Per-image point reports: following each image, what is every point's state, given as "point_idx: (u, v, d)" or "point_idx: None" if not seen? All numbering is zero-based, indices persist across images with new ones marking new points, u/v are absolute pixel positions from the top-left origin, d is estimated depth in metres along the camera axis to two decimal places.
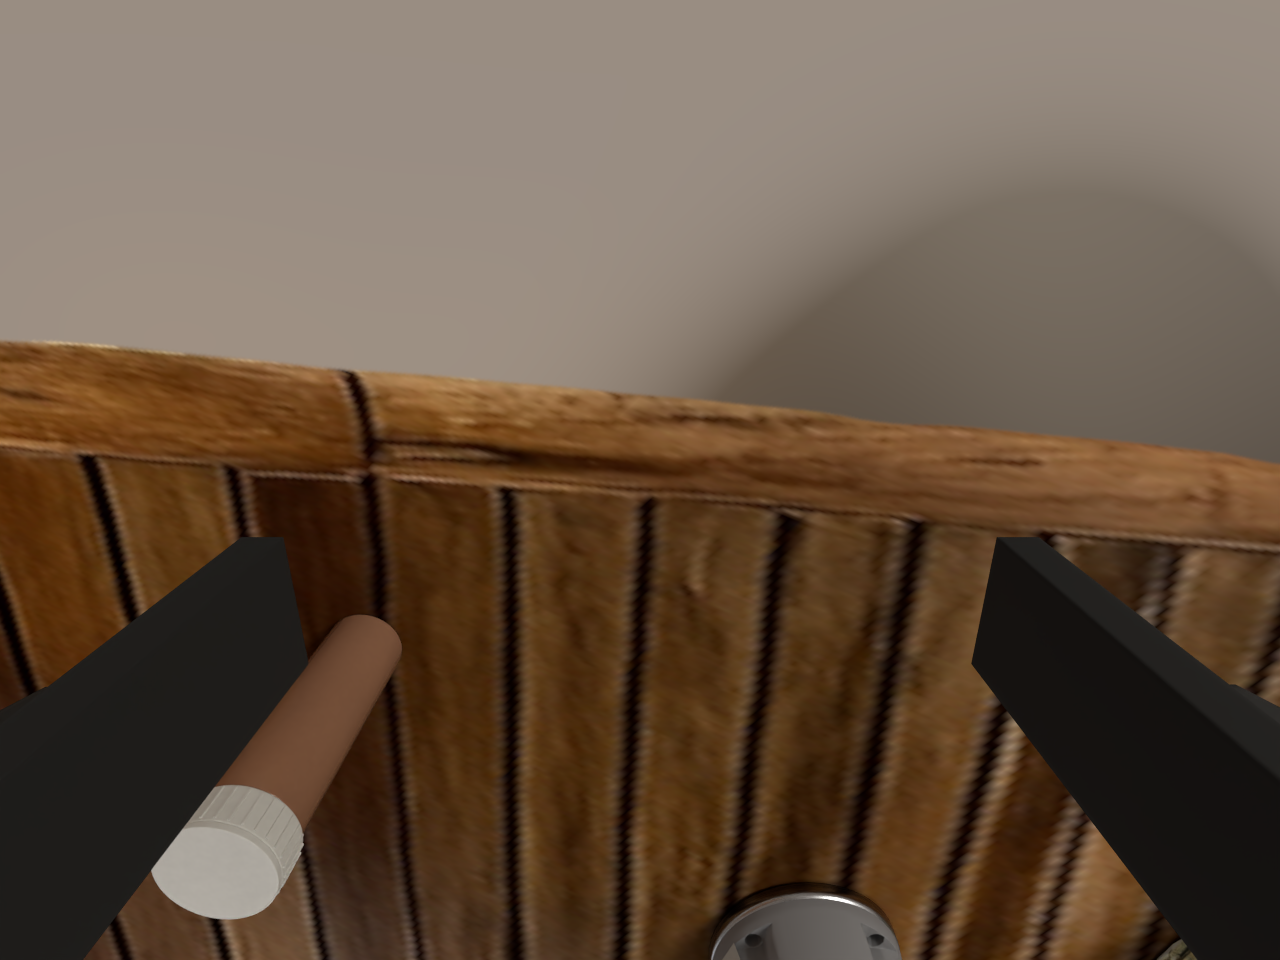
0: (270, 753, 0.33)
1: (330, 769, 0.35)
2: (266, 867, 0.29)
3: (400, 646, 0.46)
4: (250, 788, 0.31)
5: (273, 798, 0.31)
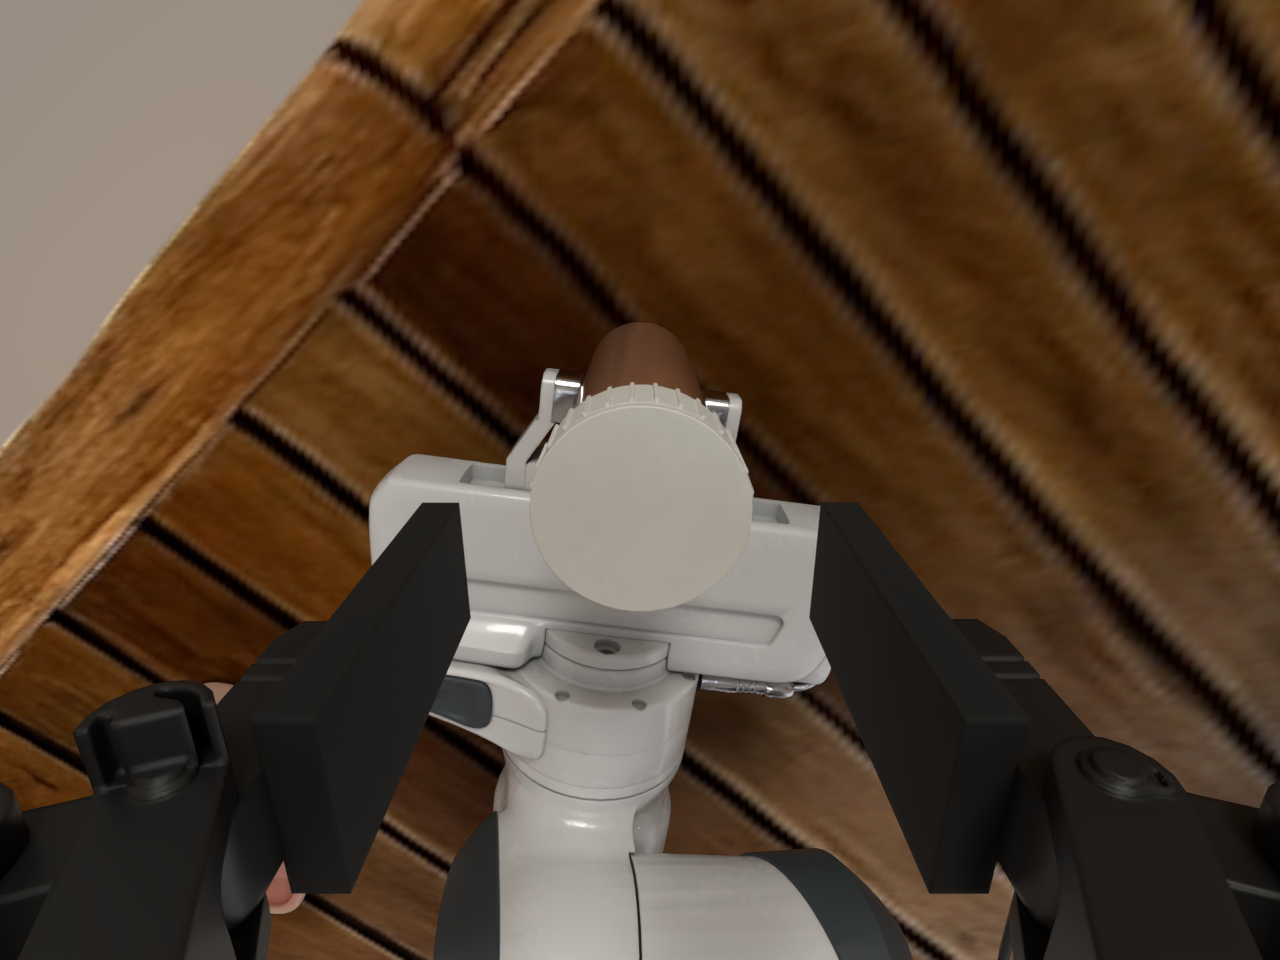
0: (592, 392, 0.20)
1: (689, 385, 0.22)
2: (694, 434, 0.16)
3: (673, 335, 0.32)
4: (589, 397, 0.18)
5: (629, 385, 0.18)
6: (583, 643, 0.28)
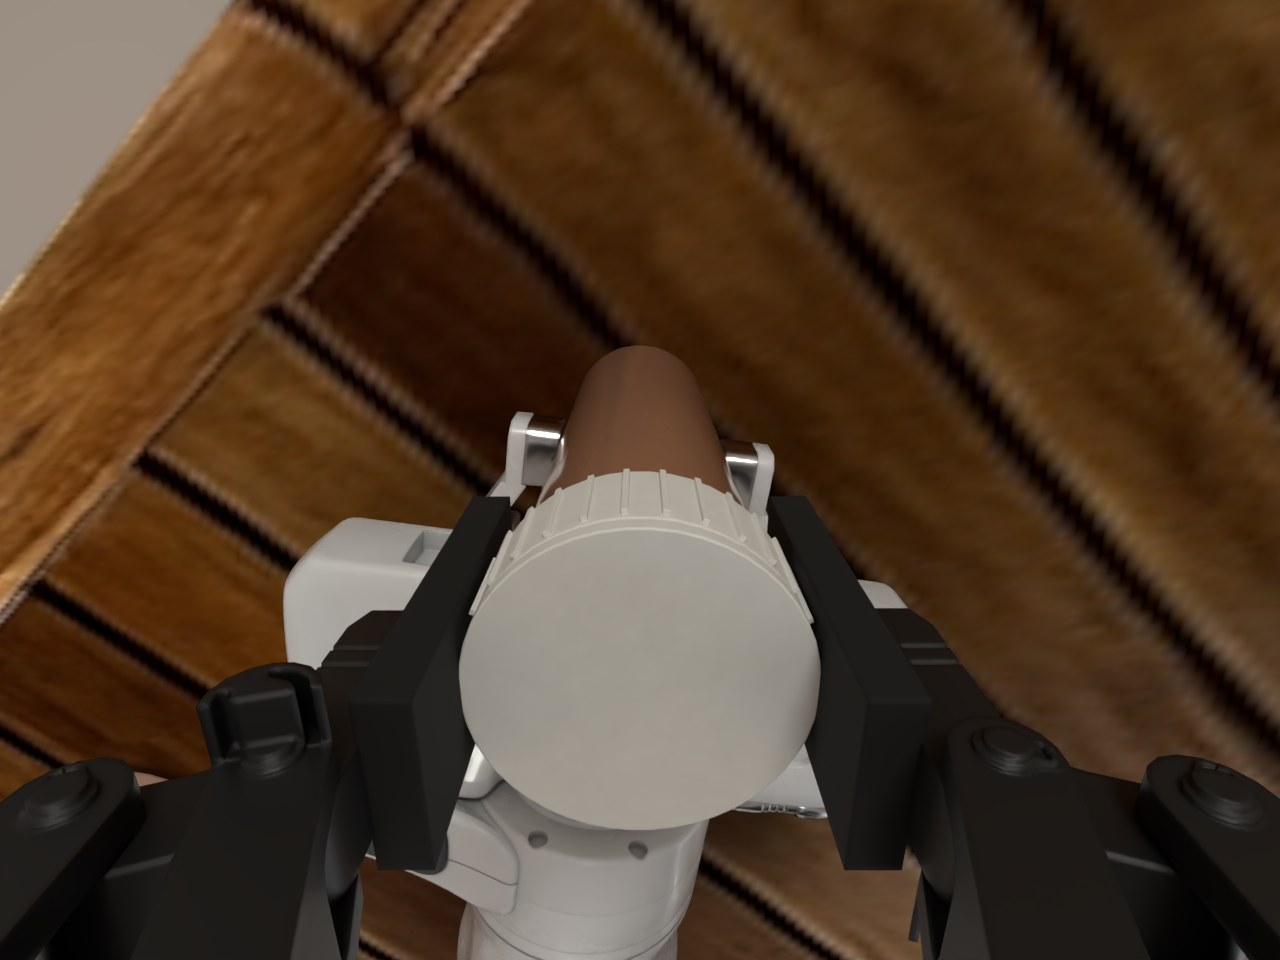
0: (569, 467, 0.14)
1: (709, 450, 0.15)
2: (728, 573, 0.09)
3: (681, 361, 0.26)
4: None
5: (622, 473, 0.11)
6: None
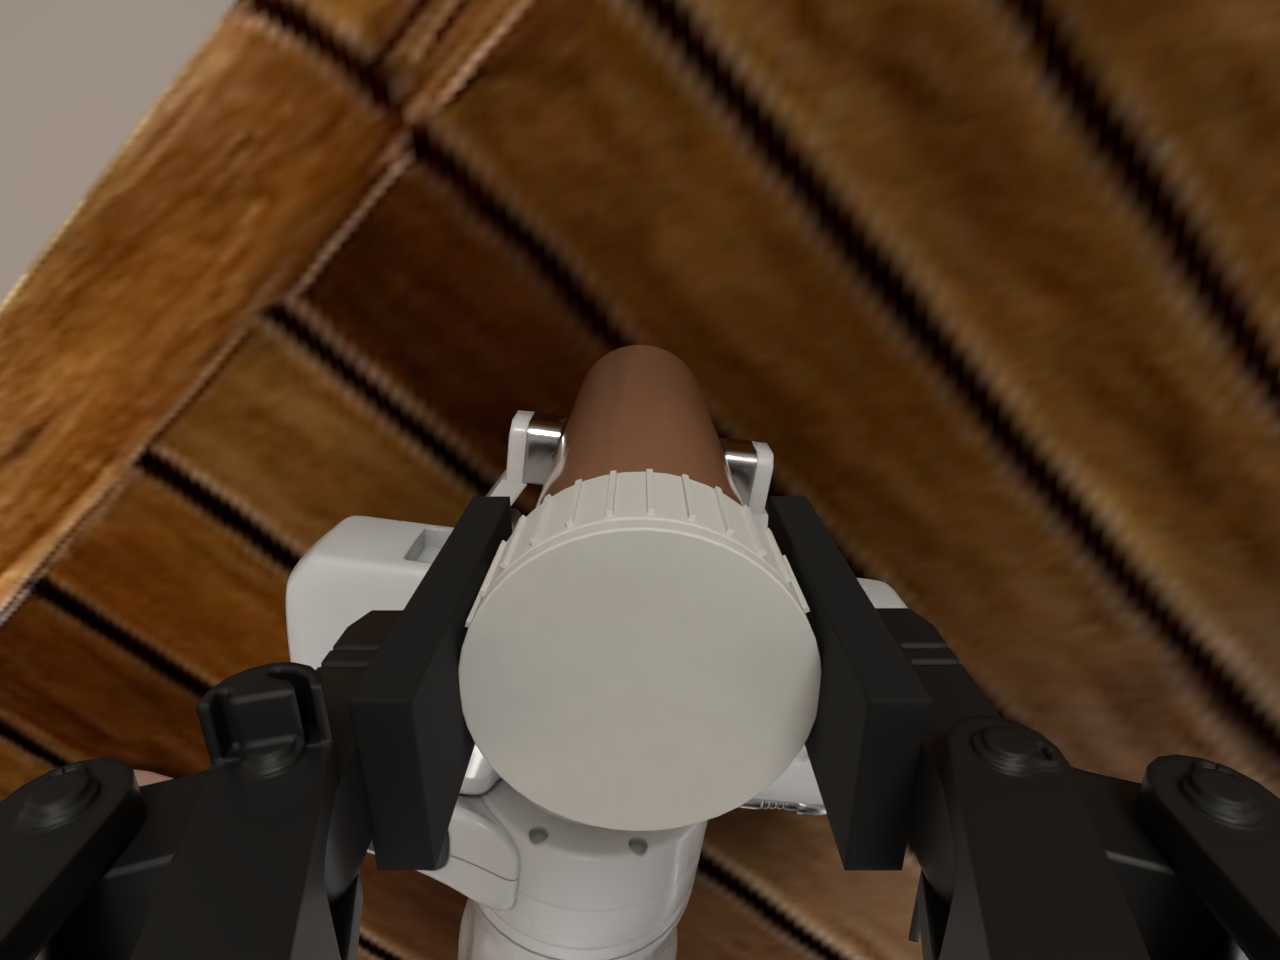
0: (570, 465, 0.14)
1: (708, 449, 0.15)
2: (496, 626, 0.10)
3: (681, 360, 0.26)
4: None
5: None
6: None
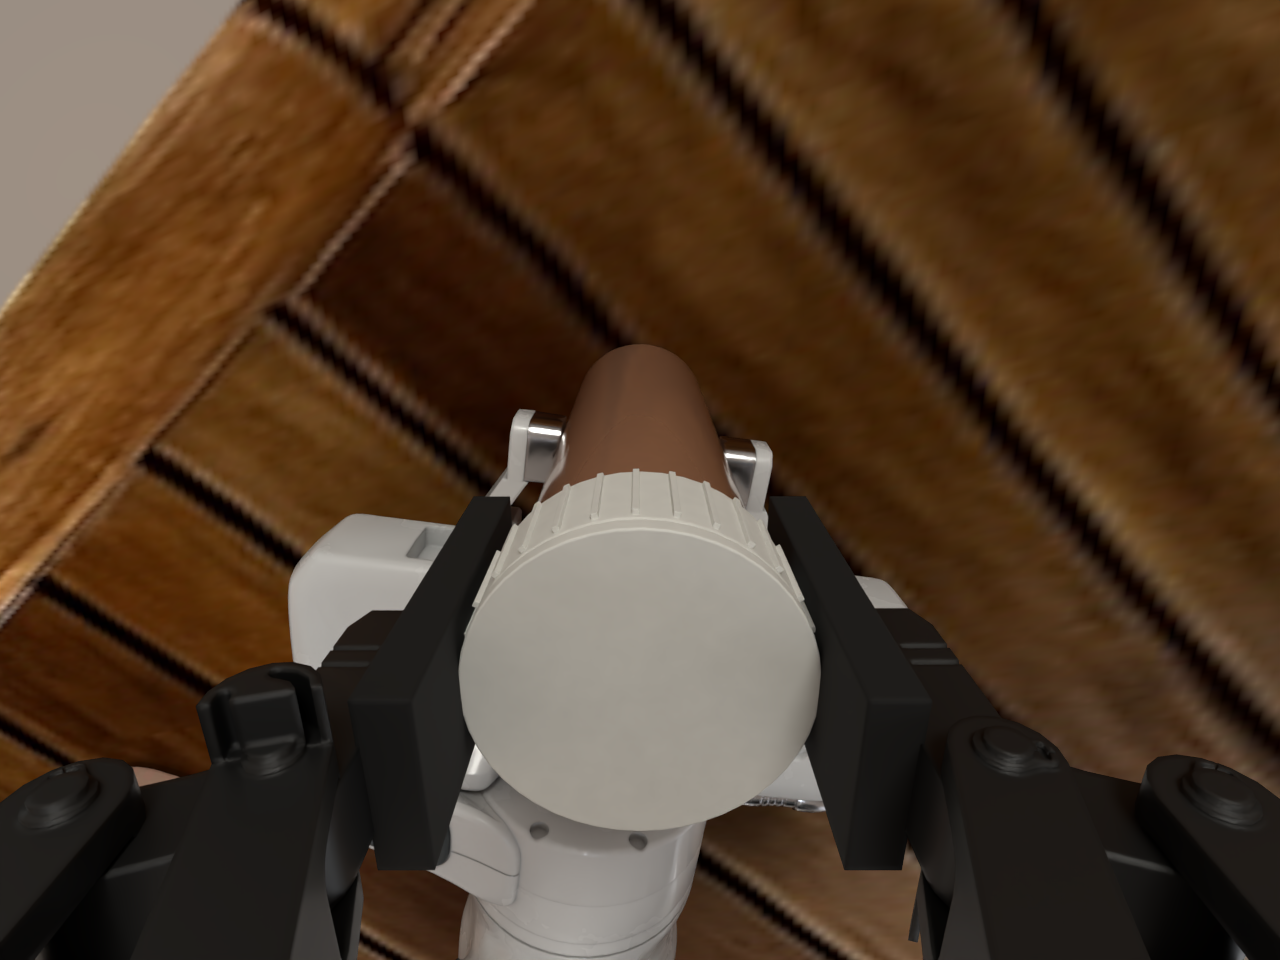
0: (571, 462, 0.14)
1: (708, 446, 0.16)
2: (569, 802, 0.11)
3: (680, 360, 0.26)
4: None
5: None
6: None
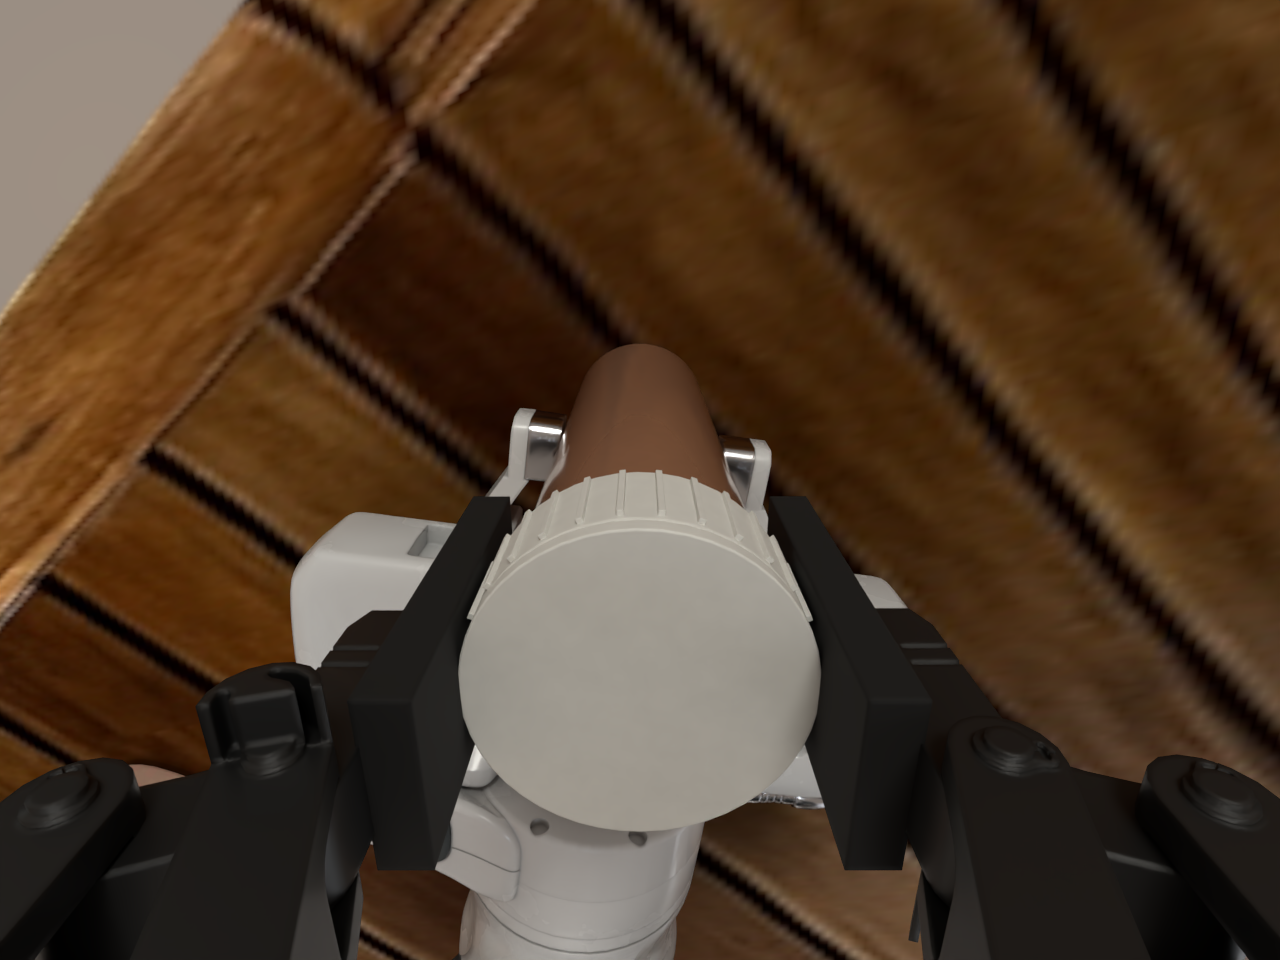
0: (571, 460, 0.14)
1: (707, 445, 0.16)
2: (776, 752, 0.11)
3: (680, 359, 0.26)
4: (772, 538, 0.12)
5: None
6: None
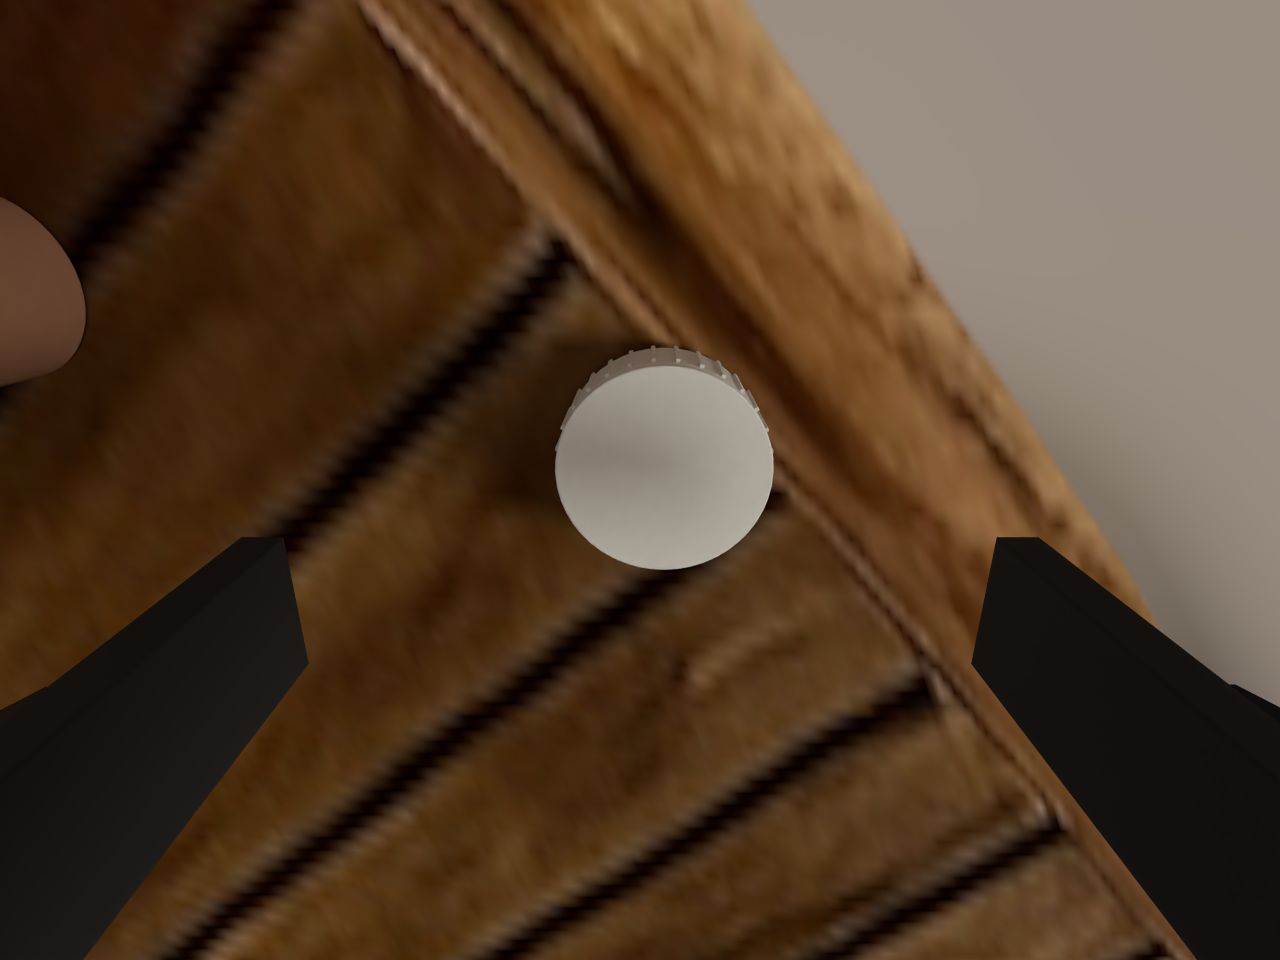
0: None
1: None
2: (746, 513, 0.17)
3: (71, 350, 0.18)
4: None
5: None
6: None
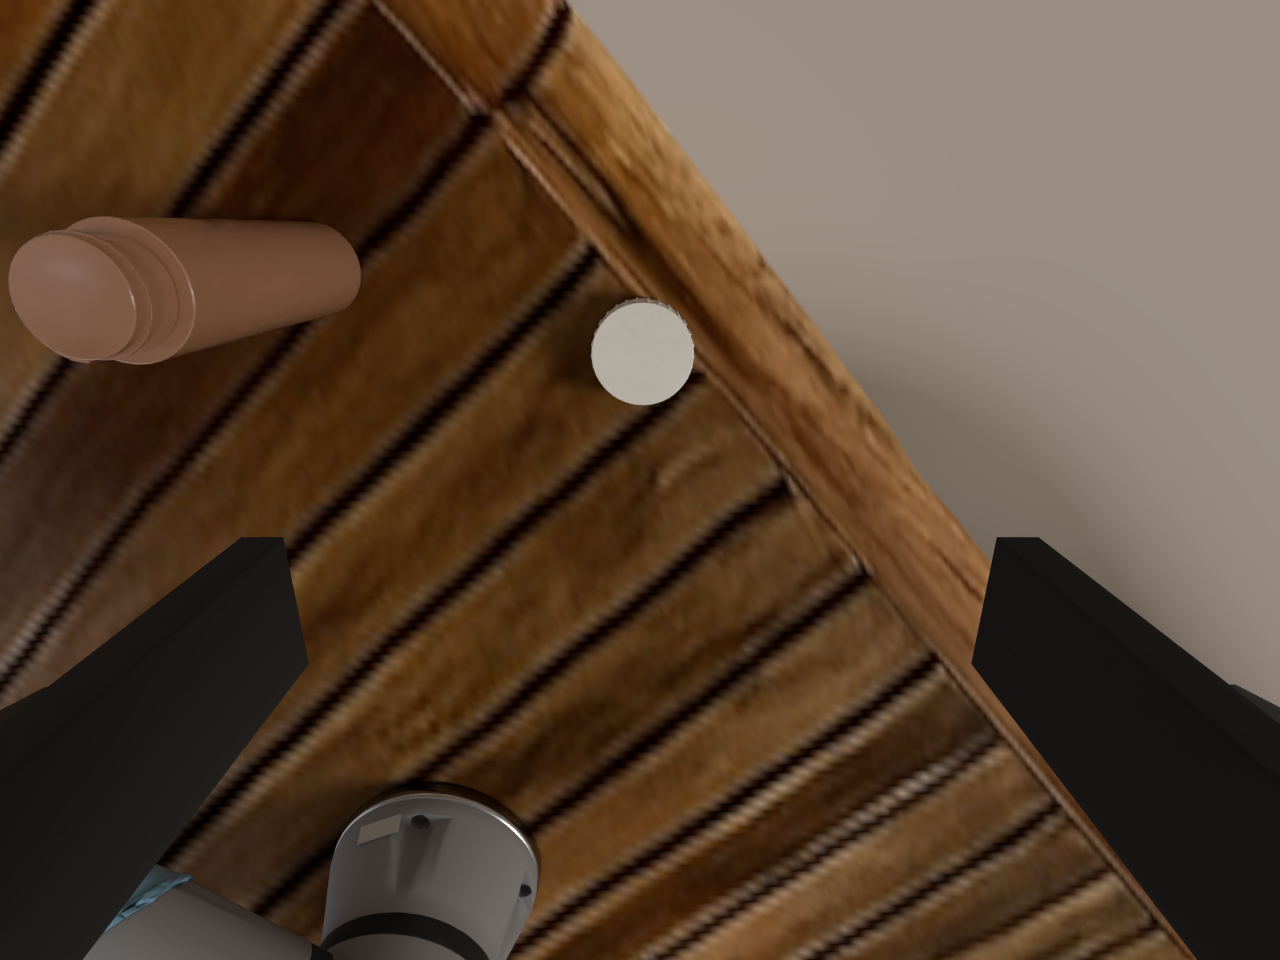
0: (208, 248, 0.25)
1: (241, 327, 0.27)
2: (682, 375, 0.37)
3: (352, 300, 0.37)
4: (683, 320, 0.38)
5: None
6: None
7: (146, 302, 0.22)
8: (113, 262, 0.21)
